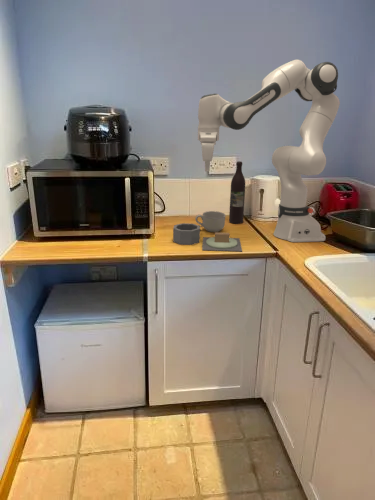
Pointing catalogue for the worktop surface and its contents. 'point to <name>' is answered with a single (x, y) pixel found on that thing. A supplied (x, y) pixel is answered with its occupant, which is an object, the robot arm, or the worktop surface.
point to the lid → (221, 241)
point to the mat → (235, 249)
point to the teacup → (212, 221)
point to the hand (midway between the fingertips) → (207, 169)
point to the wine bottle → (237, 196)
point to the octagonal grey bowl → (186, 234)
